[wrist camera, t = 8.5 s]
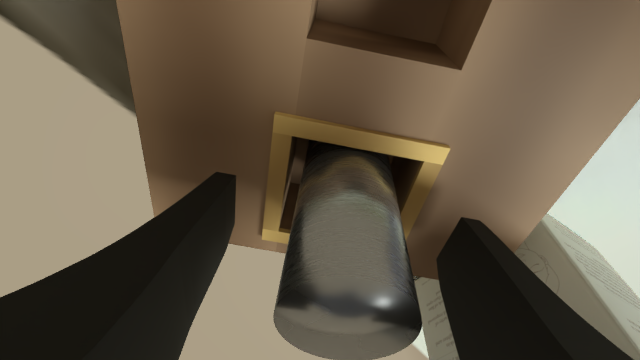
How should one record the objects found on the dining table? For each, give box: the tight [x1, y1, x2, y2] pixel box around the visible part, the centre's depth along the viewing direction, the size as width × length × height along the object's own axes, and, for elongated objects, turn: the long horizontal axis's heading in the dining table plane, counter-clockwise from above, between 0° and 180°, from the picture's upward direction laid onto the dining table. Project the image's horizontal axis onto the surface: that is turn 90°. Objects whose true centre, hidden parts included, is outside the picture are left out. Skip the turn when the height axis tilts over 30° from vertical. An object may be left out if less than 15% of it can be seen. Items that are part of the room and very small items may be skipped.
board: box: [116, 0, 640, 280], centre depth 11 cm, size 14×14×4 cm
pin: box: [274, 139, 422, 360], centre depth 10 cm, size 3×3×8 cm
